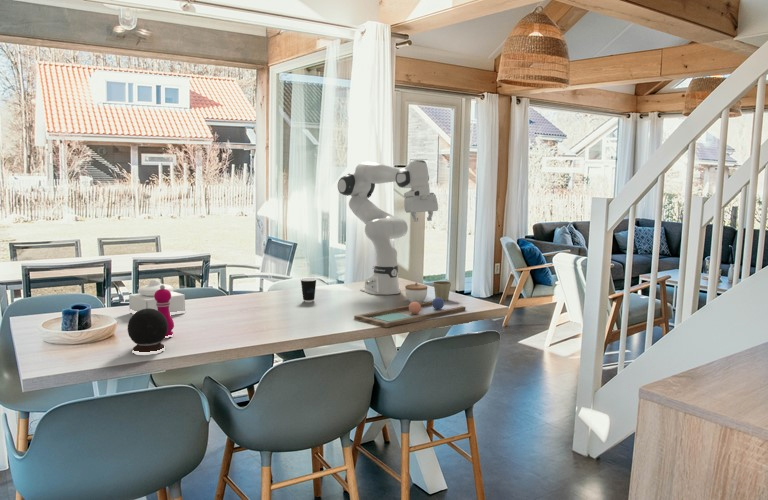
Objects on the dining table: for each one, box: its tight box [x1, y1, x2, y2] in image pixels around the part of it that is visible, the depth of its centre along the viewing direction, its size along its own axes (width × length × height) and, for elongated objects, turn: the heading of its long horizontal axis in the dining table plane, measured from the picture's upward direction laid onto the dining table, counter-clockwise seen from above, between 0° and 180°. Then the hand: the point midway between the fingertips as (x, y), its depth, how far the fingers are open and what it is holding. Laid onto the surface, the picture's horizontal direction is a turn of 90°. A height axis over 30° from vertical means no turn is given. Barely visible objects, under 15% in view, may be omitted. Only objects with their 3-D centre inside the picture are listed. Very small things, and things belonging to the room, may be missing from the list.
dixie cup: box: [300, 277, 318, 303], centre depth 308 cm, size 8×8×11 cm
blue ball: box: [431, 297, 445, 310], centre depth 290 cm, size 6×6×6 cm
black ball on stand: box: [127, 308, 168, 352], centre depth 220 cm, size 13×13×15 cm
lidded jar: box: [404, 282, 428, 304], centre depth 307 cm, size 11×11×9 cm
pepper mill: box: [154, 285, 175, 336], centre depth 239 cm, size 7×7×20 cm
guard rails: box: [353, 300, 466, 328], centre depth 279 cm, size 20×49×2 cm, turn 132°
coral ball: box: [408, 302, 422, 315], centre depth 280 cm, size 6×6×6 cm
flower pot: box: [432, 280, 453, 302], centre depth 312 cm, size 9×9×9 cm
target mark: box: [371, 312, 413, 322], centre depth 272 cm, size 14×14×1 cm
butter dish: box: [128, 278, 186, 313], centre depth 280 cm, size 18×18×16 cm
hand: (422, 221), depth 308 cm, fingers open, 8 cm apart
